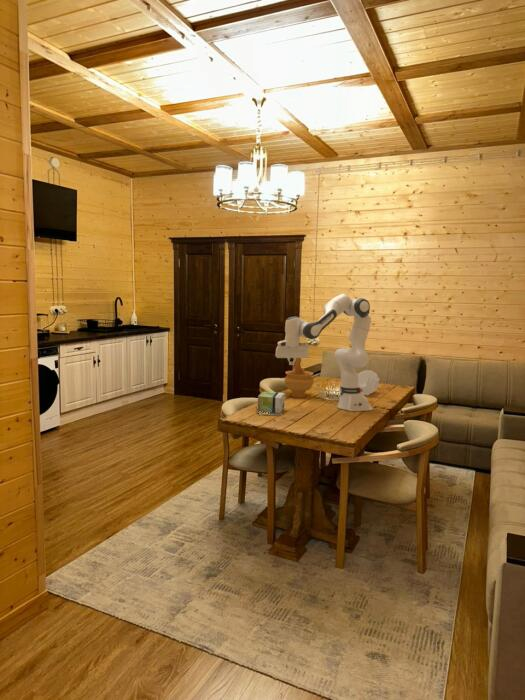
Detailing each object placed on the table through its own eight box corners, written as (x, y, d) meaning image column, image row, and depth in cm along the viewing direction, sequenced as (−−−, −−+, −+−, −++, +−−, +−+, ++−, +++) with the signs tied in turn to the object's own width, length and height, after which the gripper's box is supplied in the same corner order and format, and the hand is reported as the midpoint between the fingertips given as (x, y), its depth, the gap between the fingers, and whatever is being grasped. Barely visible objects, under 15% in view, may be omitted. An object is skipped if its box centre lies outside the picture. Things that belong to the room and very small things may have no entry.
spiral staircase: (373, 396, 373) (368, 401, 350) (353, 384, 378) (347, 388, 355) (385, 376, 369) (380, 379, 346) (364, 364, 374) (359, 367, 351)
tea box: (281, 397, 293) (257, 395, 296) (280, 413, 294) (257, 411, 297) (284, 392, 308) (262, 391, 310) (284, 407, 309) (261, 406, 312)
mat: (279, 407, 310) (279, 407, 310) (282, 415, 290) (282, 415, 290) (256, 407, 309) (256, 407, 309) (258, 415, 289) (258, 415, 289)
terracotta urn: (317, 398, 340) (319, 356, 337) (288, 399, 335) (290, 357, 332) (307, 392, 361) (308, 353, 357) (280, 393, 356) (281, 353, 352)
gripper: (307, 342, 301) (307, 364, 302) (275, 342, 299) (275, 364, 301) (309, 343, 294) (309, 365, 296) (276, 343, 293) (276, 365, 295)
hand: (291, 364), depth 298 cm, fingers closed
